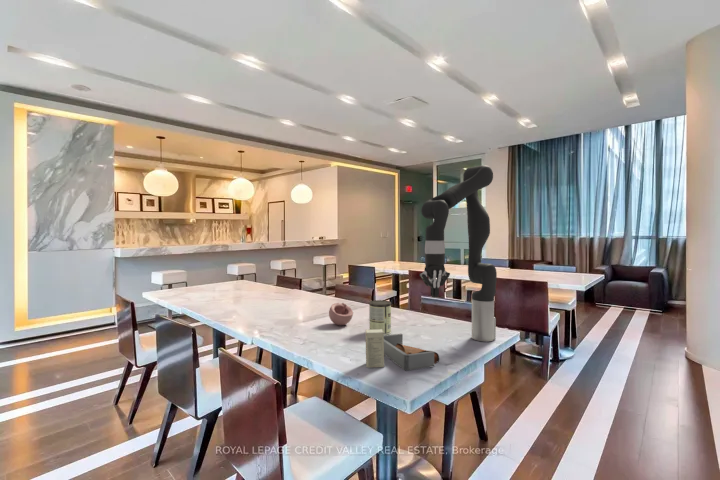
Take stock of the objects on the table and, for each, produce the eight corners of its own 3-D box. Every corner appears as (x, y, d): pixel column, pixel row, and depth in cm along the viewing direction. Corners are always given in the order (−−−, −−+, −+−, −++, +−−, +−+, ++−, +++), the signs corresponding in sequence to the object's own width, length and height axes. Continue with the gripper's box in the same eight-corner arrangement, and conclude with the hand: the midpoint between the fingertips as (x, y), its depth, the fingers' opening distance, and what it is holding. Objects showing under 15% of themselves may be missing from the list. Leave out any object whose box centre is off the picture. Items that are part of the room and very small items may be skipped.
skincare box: (383, 363, 125) (383, 328, 125) (384, 367, 121) (384, 332, 121) (365, 363, 125) (365, 328, 125) (365, 367, 121) (365, 332, 121)
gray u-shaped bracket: (401, 345, 145) (401, 333, 145) (434, 366, 122) (434, 352, 122) (376, 348, 141) (376, 336, 141) (405, 370, 118) (405, 356, 118)
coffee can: (369, 329, 170) (370, 299, 170) (391, 329, 169) (391, 300, 169) (368, 335, 160) (368, 304, 160) (391, 335, 159) (391, 304, 159)
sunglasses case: (385, 356, 132) (390, 339, 134) (393, 361, 137) (398, 344, 139) (429, 367, 121) (434, 348, 124) (436, 372, 126) (440, 354, 129)
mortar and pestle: (339, 329, 169) (339, 305, 169) (324, 324, 178) (324, 302, 178) (357, 325, 177) (357, 302, 177) (342, 320, 186) (342, 299, 186)
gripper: (443, 251, 142) (443, 294, 142) (414, 252, 137) (414, 296, 137) (455, 252, 135) (455, 297, 135) (425, 253, 130) (425, 300, 130)
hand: (434, 297), depth 136 cm, fingers closed
